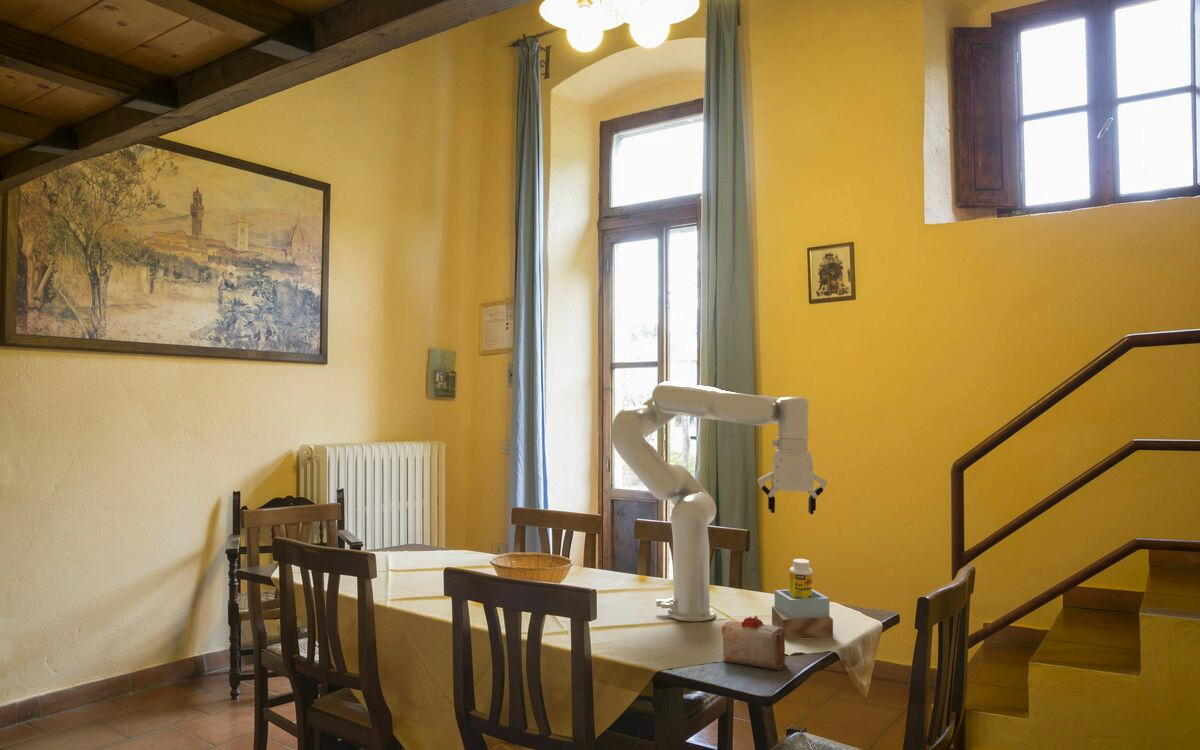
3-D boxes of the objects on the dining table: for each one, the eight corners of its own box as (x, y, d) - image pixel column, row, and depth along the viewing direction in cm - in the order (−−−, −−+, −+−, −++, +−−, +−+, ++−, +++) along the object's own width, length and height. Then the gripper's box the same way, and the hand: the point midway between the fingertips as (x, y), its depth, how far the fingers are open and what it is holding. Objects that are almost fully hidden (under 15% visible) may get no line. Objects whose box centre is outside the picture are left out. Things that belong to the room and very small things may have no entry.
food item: (716, 663, 177) (716, 617, 178) (729, 653, 184) (729, 609, 185) (777, 673, 171) (777, 626, 171) (789, 662, 178) (788, 617, 178)
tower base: (783, 640, 195) (783, 619, 195) (771, 626, 207) (771, 606, 207) (833, 640, 195) (832, 619, 195) (818, 626, 207) (818, 606, 207)
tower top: (790, 618, 196) (790, 600, 196) (774, 608, 206) (774, 590, 206) (829, 616, 197) (829, 598, 198) (811, 606, 207) (811, 588, 207)
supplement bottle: (792, 605, 199) (793, 563, 198) (786, 597, 204) (786, 557, 204) (814, 604, 199) (815, 563, 199) (807, 597, 205) (808, 557, 204)
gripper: (760, 445, 204) (759, 514, 204) (830, 447, 203) (829, 516, 202) (756, 443, 211) (755, 509, 211) (824, 445, 210) (823, 511, 210)
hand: (791, 512), depth 207 cm, fingers open, 9 cm apart
